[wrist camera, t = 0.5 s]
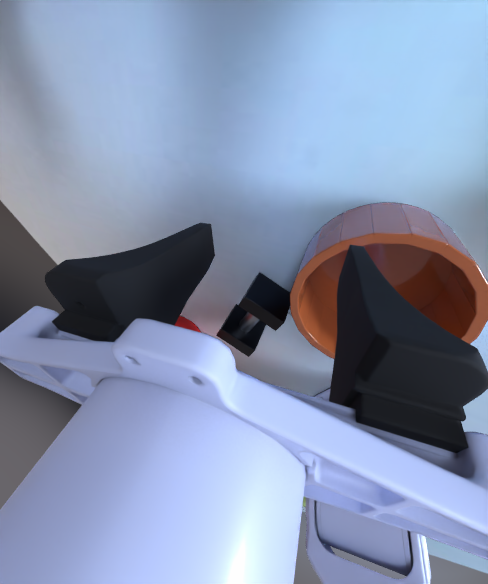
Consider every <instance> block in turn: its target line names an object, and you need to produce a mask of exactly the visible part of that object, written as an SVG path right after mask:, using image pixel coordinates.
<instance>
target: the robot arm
mask: <svg viewBox="0 0 488 584" xmlns="http://www.w3.org/2000/svg"><path fill="white" fill-rule="evenodd" d="M214 256H215V253H214V245H213V237H212V229H211V224H206V223H199V224H196V225H193V226H191V227H189V228H187V229H184V230H182V231H180V232H178V233H176V234H174V235H171V236H169V237H167V238H164V239H162V240H159V241H157V242H155V243H152V244H149V245H146V246H143V247H140V248H137V249H133V250H129V251H125V252H121V253H116V254H111V255H106V256H99V257H92V258H82V259H71V260H65V261H63V262H62V263H60V264H59V265H58V266H56V267H55V268H53V269H52V270H50V271H49V272H48V273H47V274H46V275H45V282H46V285H47V287H48V288H49V290H50V291H51V293H52V294H53V295H54V296H55V298H56V299H57V300H58V301H59V302H60V304H61V305H62V307H63V308H64V309H65V311H63V312H62V313H61V314H59V313H57V312H56V311H53V310H50V309H46V308H43V307H40V306H34V307H33V308H32V309H30V310H29V311H28V312H27V313H25V314H24V315H23V316H21V317H20V318H19V319H17V320H16V321H15V322H14V323H12V324H11V325H10V326H9V327H7V328H6V329H5V330H3V331H2V332H1V333H0V362H1V363H2V364H4V365H5V366H7V367H8V368H9V369H11V370H12V371H13V372H15V373H16V374H17V375H19V376H20V377H21V378H23V379H26V380H29V381H31V382H33V383H36V384H38V385H41V386H43V387H45V388H47V389H50V390H52V391H54V392H57V393H59V394H61V395H63V396H65V397H67V398H69V399H71V400H73V401H75V402H78V403H80V404H82V406H81V407H80V409H79V410H78V411H77V413H76V414H75V415H74V416H73V418H72V419H71V420H70V421H69V423H68V424H67V425H66V427H65V428H64V429H63V430H62V432H61V433H60V434H59V435H58V437H57V438H56V439H55V441H54V442H53V443H52V444H51V446H50V447H49V448H48V449H47V451H46V452H45V453H44V455H43V456H42V457H41V458H40V460H39V461H38V462H37V463H36V465H35V466H34V467H33V469H32V470H31V471H30V473H29V474H28V475H27V476H26V478H25V479H24V480H23V481H22V483H21V484H20V485H19V487H18V488H17V489H16V490H15V492H14V493H13V494H12V495H11V497H10V498H9V499H8V500H7V502H6V503H5V504H4V506H3V507H2V508H1V509H0V584H293V581H294V573H295V564H296V555H297V547H298V539H299V530H300V521H301V512H302V504H303V496H304V497H306V520H307V530H306V531H307V533H306V549H307V556H308V558H309V561H310V563H311V565H312V567H313V569H314V570H315V572H316V574H317V575H318V577H319V579H320V580H321V582H322V584H430V579H431V571H430V564H429V558H428V551H427V544H426V537H428V538H430V539H433V540H436V541H439V542H442V543H444V544H447V545H450V546H453V547H455V548H458V549H461V550H463V551H466V552H469V553H471V554H474V555H477V556H479V557H482V558H484V559H487V560H488V435H486V434H482V433H478V432H464V430H463V427H462V424H461V421H464V420H465V419H466V415H465V412H464V409H463V406H464V405H466V404H467V403H469V402H470V401H472V400H474V399H475V398H477V397H478V396H480V395H481V394H482V393H483V392H484V391H486V390H487V389H488V371H487V369H486V366H485V364H484V361H483V359H482V357H481V355H480V353H479V351H478V349H477V348H475V347H474V346H472V345H470V344H468V343H467V342H465V341H463V340H462V339H460V338H458V337H456V336H455V335H453V334H451V333H450V332H448V331H446V330H445V329H443V328H442V327H440V326H439V325H437V324H436V323H434V322H433V321H432V320H430V319H429V318H427V317H426V316H425V315H423V314H422V313H421V312H420V311H418V310H417V309H416V308H415V307H413V306H412V305H411V304H410V303H409V302H408V301H407V300H405V299H404V298H403V297H402V296H401V295H400V294H399V293H398V292H397V291H396V290H395V289H394V288H393V287H392V285H391V284H390V283H389V282H388V281H387V280H386V278H385V277H384V276H383V275H382V273H381V272H380V271H379V269H378V268H377V266H376V265H375V263H374V262H373V260H372V259H371V257H370V256H369V254H368V252H367V251H366V249H365V248H364V246H357V245H350V246H349V249H348V252H347V255H346V258H345V261H344V264H343V267H342V270H341V273H340V276H339V282H338V289H337V341H336V350H335V359H334V367H333V375H332V382H331V388H330V389H328V390H326V391H324V392H322V393H320V394H318V395H316V396H314V397H312V396H309V395H305V394H302V393H299V392H295V391H292V390H289V389H285V388H282V387H279V386H275V385H272V384H268V383H265V382H262V381H260V380H258V379H256V378H254V377H252V376H250V375H248V374H246V373H244V372H241V371H239V370H237V369H236V368H235V359H234V357H233V355H232V352H231V350H230V349H229V347H228V346H226V345H225V344H224V343H223V342H221V341H220V340H219V339H217V338H214V337H212V336H210V335H207V334H204V333H200V332H197V331H193V330H189V329H185V328H182V327H178V326H175V324H176V322H177V320H178V318H179V315H180V314H181V312H182V310H183V308H184V306H185V304H186V302H187V300H188V299H189V297H190V296H191V294H192V293H193V291H194V290H195V288H196V287H197V285H198V284H199V283H200V281H201V280H202V278H203V277H204V275H205V274H206V272H207V271H208V269H209V267H210V265H211V263H212V261H213V259H214ZM330 546H332V547H334V548H337V549H340V550H342V551H345V552H347V553H349V554H352V555H354V556H357V557H359V558H362V559H364V560H367V561H370V562H372V563H375V564H377V565H380V566H383V567H385V568H387V569H390V570H392V571H395V572H397V573H400V574H403V575H405V576H407V577H405V578H403V579H395V578H390V577H388V576H385V575H382V574H380V573H378V572H375V571H373V570H370V569H368V568H366V567H363V566H361V565H358V564H356V563H353V562H351V561H349V560H346V559H344V558H341V557H338V556H336V555H335V554H334V552H333V551H332V549H331V547H330Z"/></svg>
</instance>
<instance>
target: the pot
mask: <svg viewBox="0 0 488 584" xmlns="http://www.w3.org/2000/svg"><path fill="white" fill-rule="evenodd" d="M350 245H357V246H364V248H365V249H366V251H367V252H368V254H369V256H370V257H371V259H372V260H373V262H374V263H375V265H376V266H377V268H378V269H379V271H380V272H381V273H382V275H383V276H384V277H385V278H386V280H387V281H388V282H389V283H390V284H391V285H392V287H393V288H394V289H395V290H396V291H397V292H398V293H399V294H400V295H401V296H402V297H403V298H404V299H405V300H407V301H408V302H409V303H410V304H411V305H412V306H413V307H415V308H416V309H417V310H418V311H420V312H421V313H422V314H423V315H425V316H426V317H427V318H429V319H430V320H432V321H433V322H434V323H436V324H437V325H439V326H440V327H442V328H443V329H445V330H446V331H448V332H450V333H451V334H453V335H455V336H456V337H458V338H460V339H462V340H463V341H465V342H467V343H468V344H470V343H472V342H473V341H474V340H475V339H477V337H478V336H479V335H480V333H481V331H482V329H483V328H484V326H485V324H486V322H487V321H488V282H487V280H486V279H485V277H484V275H483V273H482V272H481V270H480V268H479V266H478V265H477V263H476V262H475V260H474V259H473V258H472V256H471V255H470V253H469V252H468V251H467V249H466V248H465V247H464V245H463V244H462V242H461V241H460V240H459V238H458V237H457V236H456V234H455V233H454V231H453V230H452V229H451V228H450V227H449V226H448V225H447V224H446V223H444V222H443V221H442V220H441V219H440V218H439V217H437V216H435V215H434V214H432V213H430V212H429V211H426V210H424V209H421V208H419V207H415V206H412V205H408V204H401V203H375V204H368V205H364V206H360V207H357V208H354V209H351V210H348V211H346V212H344V213H342V214H340V215H338V216H337V217H335V218H333V219H332V220H330V221H329V222H328V223H327V224H325V225H324V226H323V227H322V228H321V229H320V230H319V231H318V232H317V233H316V234H315V236H314V237H313V239H312V240H311V242H310V243H309V245H308V247H307V249H306V252H305V255H304V257H303V260H302V263H301V265H300V268H299V271H298V273H297V276H296V279H295V281H294V284H293V287H292V289H291V292H290V309H291V315H292V317H293V319H294V321H295V324H296V326H297V328H298V330H299V331H300V333H301V334H302V335H303V336H304V337H305V338H306V339H307V340H308V342H309V343H310V344H311V345H312V346H314V347H315V348H317V349H318V350H320V351H321V352H323V353H324V354H326V355H327V356H329V357H331V358H333V359H335V350H336V341H337V289H338V282H339V276H340V273H341V270H342V267H343V264H344V261H345V258H346V255H347V252H348V249H349V246H350Z"/></svg>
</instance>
